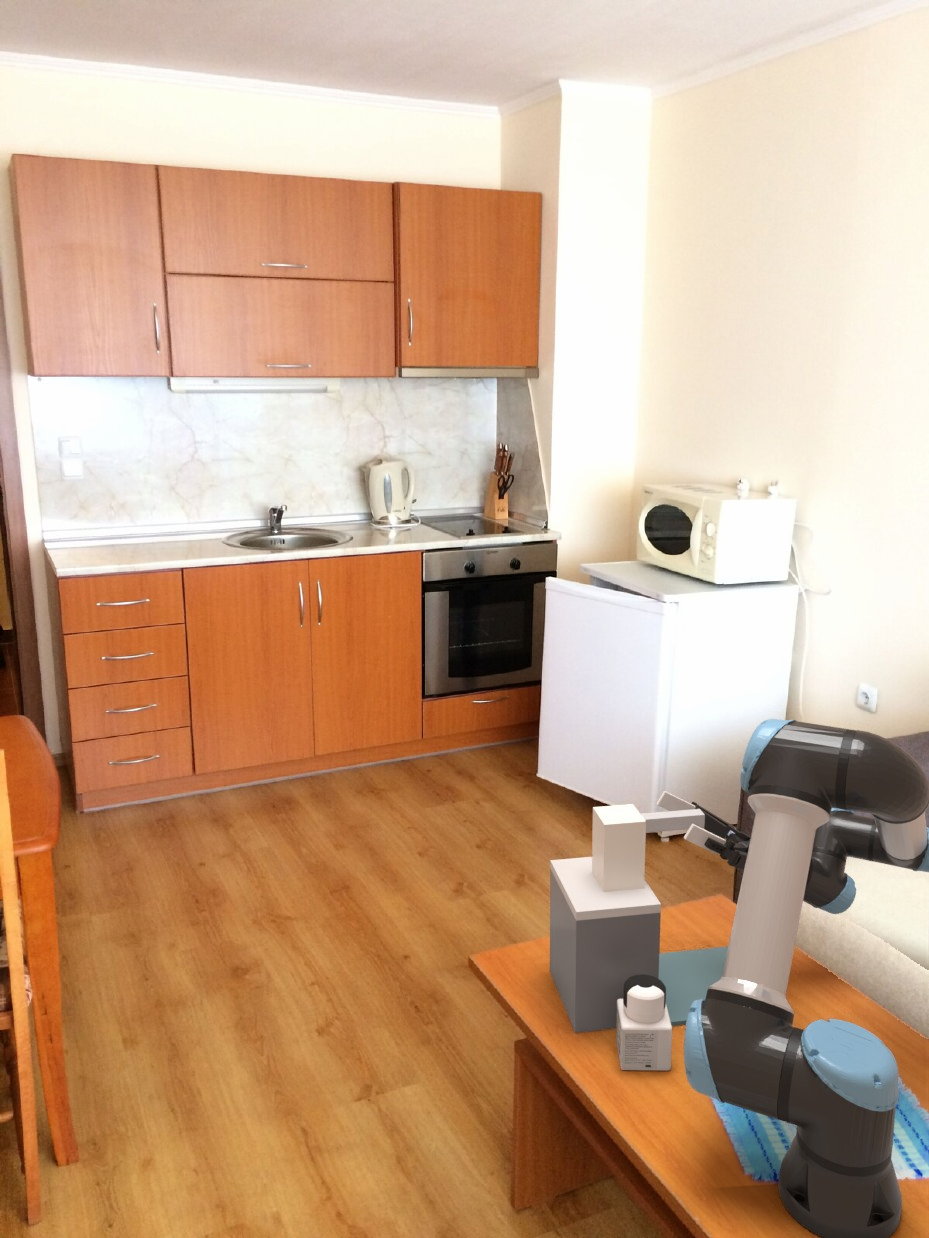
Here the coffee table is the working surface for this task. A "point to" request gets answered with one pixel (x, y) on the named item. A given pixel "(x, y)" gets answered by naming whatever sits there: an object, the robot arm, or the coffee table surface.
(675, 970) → the mat
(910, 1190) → the coffee table surface
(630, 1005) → the container
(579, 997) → the stand
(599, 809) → the tall white block
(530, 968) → the coffee table surface
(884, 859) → the robot arm
